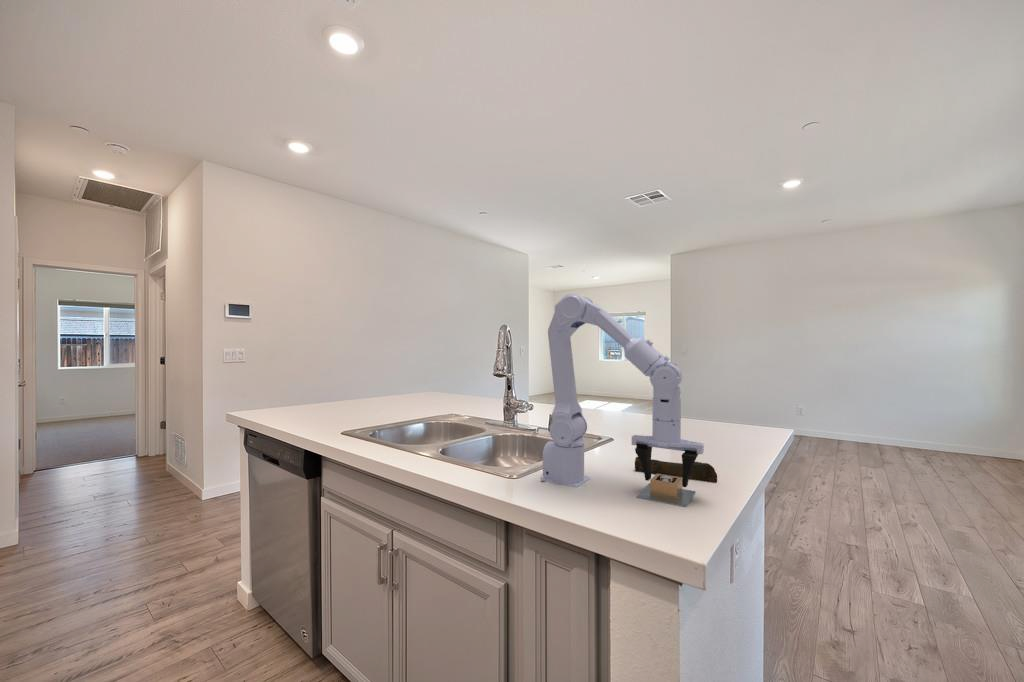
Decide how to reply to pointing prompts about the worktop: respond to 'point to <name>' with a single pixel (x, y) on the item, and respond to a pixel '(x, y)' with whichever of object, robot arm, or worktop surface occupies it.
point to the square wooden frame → (666, 487)
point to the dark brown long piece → (681, 470)
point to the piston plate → (681, 501)
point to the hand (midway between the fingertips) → (666, 482)
